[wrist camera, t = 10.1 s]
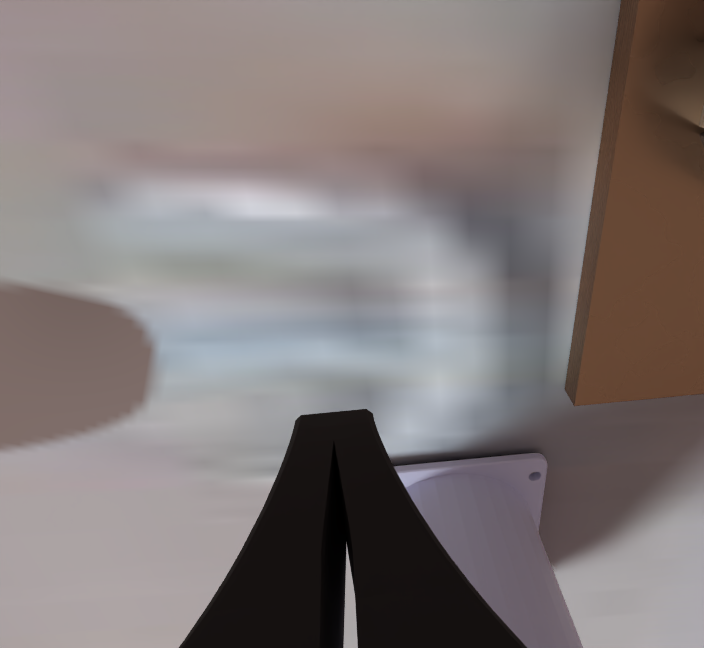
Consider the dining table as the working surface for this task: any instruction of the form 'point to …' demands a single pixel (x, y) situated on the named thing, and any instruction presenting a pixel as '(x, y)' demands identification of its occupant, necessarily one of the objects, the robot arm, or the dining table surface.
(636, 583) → the dining table surface
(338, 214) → the dining table surface
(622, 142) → the peg hole base
